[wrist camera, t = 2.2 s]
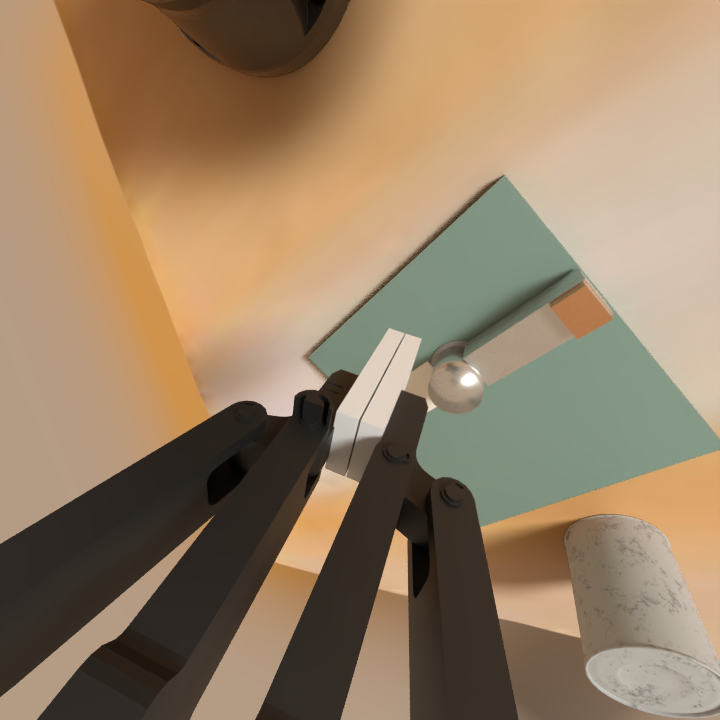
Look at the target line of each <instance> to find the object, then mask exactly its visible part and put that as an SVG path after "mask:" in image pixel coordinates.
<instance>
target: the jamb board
mask: <svg viewBox="0 0 720 720" xmlns="http://www.w3.org/2000/svg"><path fill="white" fill-rule="evenodd" d="M577 268H579V269H580V271H581V272H582V273H583V274H584V276H585V277H586V278H587V279H588V280H589V282H590V283H591V284H592V285H593V287H594V288H595V289H596V290H597V292H598V293H599V294H600V295H601V296H602V298H603V299H604V300H605V302H606V303H607V304H608V306H609V307H610V309H611V310H612V311H613V313H614V315H612V318H613V320H611V321H609V322H608V323H606V324H604V325H602V326H601V327H599V328H597V329H595V330H593V331H592V332H590V333H588V334H586V335H585V336H583V337H581V338H579V339H578V340H577V338H576V337H573V338H572V339H570V340H568V341H566V342H565V343H563V344H561V345H559V346H558V347H556V348H554V349H552V350H551V351H549V352H547V353H545V354H544V355H542V356H540V357H538V358H537V359H535V360H533V361H531V362H530V363H528V364H526V365H524V366H523V367H521V368H519V369H517V370H516V371H514V372H512V373H510V374H509V375H507V376H505V377H503V378H502V379H500V380H498V381H496V382H495V383H493V384H491V385H490V386H488V385H487V384H486V383H485V382H484V388H483V398H482V401H481V403H480V404H479V405H478V407H477V408H475V409H474V410H472V411H470V412H468V413H464V414H452V413H448V412H445V411H443V410H441V409H439V408H438V407H437V406H436V405H434V403H433V402H432V401H431V399H430V397H429V394H428V385H429V381H430V378H431V375H432V372H433V368H434V365H435V362H436V359H437V357H438V356H439V354H440V353H441V352H443V351H444V350H446V349H448V348H451V347H458V346H459V347H465V344H466V343H467V342H469V341H470V340H472V339H473V338H475V337H476V336H478V335H479V334H481V333H482V332H483V331H485V330H486V329H488V328H489V327H491V326H492V325H494V324H495V323H497V322H498V321H500V320H501V319H503V318H504V317H506V316H507V315H509V314H510V313H512V312H513V311H514V310H516V309H517V308H519V307H520V306H522V305H523V304H525V303H526V302H528V301H529V300H531V299H532V298H534V297H535V296H537V295H538V294H540V293H541V292H543V291H544V290H546V289H547V288H548V287H550V286H551V285H553V284H554V283H556V282H557V281H559V280H560V279H562V278H563V277H565V276H566V275H568V274H569V273H571V272H572V271H574V270H575V269H577ZM389 328H390V329H393V330H396V331H399V332H402V333H405V334H404V336H405V335H406V334H408V335H412V336H415V337H418V338H421V339H422V340H421V343H420V346H419V349H418V352H417V355H416V358H415V361H414V364H413V367H412V370H411V373H410V377H409V380H408V383H407V386H406V388H405V391H406V392H409V393H412V394H415V395H417V396H420V397H423V398H426V402H427V405H428V411H427V415H426V418H425V422H424V425H423V429H422V432H421V436H420V439H419V443H418V447H417V450H416V457H417V461H418V463H419V465H420V466H421V467H422V469H423V470H424V471H426V472H427V473H428V474H429V475H431V476H432V477H433V478H435V479H438V478H441V477H450V478H453V479H456V480H459V481H460V482H461V483H463V484H464V485H466V486H467V488H468V489H469V490H470V491H471V492H472V495H473V497H474V500H475V504H476V509H477V514H478V519H479V524H480V527H482V526H485V525H488V524H491V523H495V522H498V521H501V520H504V519H507V518H510V517H513V516H516V515H519V514H522V513H525V512H529V511H532V510H535V509H538V508H541V507H544V506H547V505H550V504H553V503H556V502H560V501H563V500H566V499H569V498H572V497H575V496H578V495H581V494H584V493H587V492H591V491H594V490H597V489H600V488H603V487H606V486H609V485H612V484H615V483H618V482H621V481H625V480H628V479H631V478H634V477H637V476H640V475H643V474H646V473H649V472H652V471H656V470H659V469H662V468H665V467H668V466H671V465H674V464H677V463H680V462H683V461H687V460H690V459H693V458H696V457H699V456H702V455H705V454H708V453H711V452H714V451H717V450H720V439H719V438H718V437H717V435H716V434H715V433H714V432H713V430H712V429H711V428H710V427H709V426H708V424H707V423H706V422H705V421H704V419H703V418H702V417H701V416H700V414H699V413H698V412H697V411H696V410H695V408H694V407H693V406H692V405H691V403H690V402H689V401H688V400H687V399H686V397H685V396H684V395H683V394H682V392H681V391H680V390H679V389H678V387H677V386H676V385H675V384H674V383H673V381H672V380H671V379H670V378H669V376H668V375H667V374H666V373H665V371H664V370H663V369H662V368H661V367H660V365H659V364H658V363H657V362H656V360H655V359H654V358H653V357H652V355H651V354H650V353H649V352H648V351H647V349H646V348H645V347H644V346H643V344H642V343H641V342H640V341H639V340H638V338H637V337H636V336H635V335H634V333H633V332H632V331H631V330H630V328H629V327H628V326H627V325H626V324H625V322H624V321H623V320H622V319H621V317H620V316H619V315H618V314H617V312H616V311H615V310H614V309H613V308H612V306H611V305H610V304H609V303H608V301H607V300H606V299H605V298H604V296H603V295H602V294H601V293H600V292H599V290H598V289H597V288H596V287H595V285H594V284H593V283H592V282H591V281H590V279H589V278H588V277H587V276H586V274H585V273H584V272H583V271H582V269H581V268H580V267H579V266H578V265H577V263H576V262H575V261H574V260H573V258H572V257H571V256H570V255H569V253H568V252H567V251H566V250H565V249H564V247H563V246H562V245H561V244H560V242H559V241H558V240H557V239H556V237H555V236H554V235H553V234H552V233H551V231H550V230H549V229H548V228H547V226H546V225H545V224H544V223H543V222H542V220H541V219H540V218H539V217H538V215H537V214H536V213H535V212H534V210H533V209H532V208H531V207H530V206H529V204H528V203H527V202H526V201H525V199H524V198H523V197H522V196H521V194H520V193H519V192H518V191H517V190H516V188H515V187H514V186H513V185H512V183H511V182H510V181H509V180H508V178H507V177H506V176H505V175H503V176H502V177H501V178H500V179H499V180H498V181H497V182H496V183H495V184H494V185H493V186H492V187H491V188H489V189H488V190H487V191H486V192H485V193H484V194H483V195H482V196H481V197H480V198H479V199H478V200H477V201H475V202H474V203H473V204H472V205H471V206H470V207H469V208H468V209H467V210H466V211H465V212H464V213H463V214H461V215H460V216H459V217H458V218H457V219H456V220H455V221H454V222H453V223H452V224H451V225H450V226H448V227H447V228H446V229H445V230H444V231H443V232H442V233H441V234H440V235H439V236H438V237H437V238H436V239H434V240H433V241H432V242H431V243H430V244H429V245H428V246H427V247H426V248H425V249H424V250H423V251H422V252H420V253H419V254H418V255H417V256H416V257H415V258H414V259H413V260H412V261H411V262H410V263H409V264H408V265H406V266H405V267H404V268H403V269H402V270H401V271H400V272H399V273H398V274H397V275H396V276H395V277H393V278H392V279H391V280H390V281H389V282H388V283H387V284H386V285H385V286H384V287H383V288H382V289H381V290H379V291H378V292H377V293H376V294H375V295H374V296H373V297H372V298H371V299H370V300H369V301H368V302H367V303H365V304H364V305H363V306H362V307H361V308H360V309H359V310H358V311H357V312H356V313H355V314H354V315H353V316H351V317H350V318H349V319H348V320H347V321H346V322H345V323H344V324H343V325H342V326H341V327H340V328H338V329H337V330H336V331H335V332H334V333H333V334H332V335H331V336H330V337H329V338H328V339H327V340H326V341H324V342H323V343H322V344H321V345H320V346H319V347H318V348H317V349H316V350H315V351H314V352H313V353H312V354H311V355H310V356H309V357H308V358H309V359H310V360H311V361H312V362H313V363H314V364H315V365H316V366H317V367H318V368H319V369H320V370H321V371H322V372H323V373H324V374H325V375H326V376H327V377H328V378H329V377H330V375H331V374H332V373H334V372H336V371H338V370H340V369H342V370H345V371H348V372H351V373H353V374H356V375H360V373H361V372H362V370H363V369H364V367H365V365H366V364H367V362H368V361H369V359H370V358H371V356H372V354H373V353H374V351H375V350H376V348H377V346H378V345H379V343H380V342H381V340H382V339H383V337H384V335H385V334H386V332H387V331H388V329H389ZM403 338H404V337H403Z"/></svg>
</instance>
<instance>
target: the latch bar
mask: <svg viewBox="0 0 720 720" xmlns="http://www.w3.org/2000/svg"><path fill="white" fill-rule="evenodd" d="M612 315H614V313H613V311H612V310H611V309H610V307H609V306H608V304H607V303H606V302H605V300H604V299H603V298H602V296H601V295H600V294H599V293H598V292H597V290H596V289H595V288H594V287H593V285H592V284H591V283H590V282H589V280H588V279H587V278H586V277H585V276H584V274H583V273H582V272H581V271H580V269H579V268H577V269H575V270H574V271H572V272H571V273H569V274H568V275H566V276H565V277H563V278H562V279H560V280H559V281H557V282H556V283H554V284H553V285H551V286H550V287H548V288H547V289H546V290H544V291H543V292H541V293H540V294H538V295H537V296H535V297H534V298H532V299H531V300H529V301H528V302H526V303H525V304H523V305H522V306H520V307H519V308H517V309H516V310H514V311H513V312H512V313H510V314H509V315H507V316H506V317H504V318H503V319H501V320H500V321H498V322H497V323H495V324H494V325H492V326H491V327H489V328H488V329H486V330H485V331H483V332H482V333H481V334H479V335H478V336H476V337H475V338H473V339H472V340H470V341H469V342H467V343H466V344H465V347H459V346H458V347H451V348H448V349H446V350H444V351H443V352H441V353H440V354H439V356H438V357H437V359H436V362H435V365H434V368H433V372H432V375H431V378H430V381H429V385H428V394H429V397H430V399H431V401H432V402H433V403H434V405H436V406H437V407H438V408H439V409H441V410H443V411H445V412H448V413H452V414H464V413H468V412H470V411H472V410H474V409H475V408H477V407H478V405H479V404H480V403H481V401H482V398H483V388H484V382H485V383H486V384H487V385H488V386H490V385H491V384H493V383H495V382H496V381H498V380H500V379H502V378H503V377H505V376H507V375H509V374H510V373H512V372H514V371H516V370H517V369H519V368H521V367H523V366H524V365H526V364H528V363H530V362H531V361H533V360H535V359H537V358H538V357H540V356H542V355H544V354H545V353H547V352H549V351H551V350H552V349H554V348H556V347H558V346H559V345H561V344H563V343H565V342H566V341H568V340H570V339H572V338H573V337H576V338H577V340H578V339H579V338H581V337H583V336H585V335H586V334H588V333H590V332H592V331H593V330H595V329H597V328H599V327H601V326H602V325H604V324H606V323H608V322H609V321H611V320H613V318H612Z"/></svg>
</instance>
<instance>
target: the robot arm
mask: <svg viewBox="0 0 720 720" xmlns="http://www.w3.org/2000/svg"><path fill="white" fill-rule="evenodd" d="M143 1H145V2H148V3H150V4H152V5H155V6H156V7H157V8H158V9H159V10H160V11H162V12H163V13H164V14H165V15H166V16H168V17H169V18H170V19H171V20H172V21H173V22H174V23H175V24H176V25H177V26H178V27H179V28H180V30H181V31H182V32H183V33H184V34H185V36H186V37H187V38H188V39H189V40H190V41H191V42H192V43H193V44H194V45H195V46H196V47H197V48H198V49H199V50H201V51H202V52H203V53H204V54H206V55H207V56H208V57H210V58H211V59H213V60H214V61H216V62H218V63H219V64H221V65H223V66H225V67H228V68H230V69H233V70H236V71H239V72H243V73H246V74H249V75H253V76H258V77H274V76H280V75H284V74H287V73H290V72H292V71H294V70H296V69H298V68H300V67H301V66H303V65H304V64H306V63H307V62H309V61H310V60H311V59H312V58H313V57H314V56H316V55H317V53H318V52H319V51H320V50H321V49H322V48H323V47H324V46H325V45H326V43H327V42H328V41H329V39H330V38H331V36H332V35H333V33H334V32H335V30H336V29H337V27H338V25H339V23H340V21H341V19H342V17H343V15H344V13H345V11H346V8H347V6H348V3H349V1H350V0H143ZM404 334H405V333H402V332H399V331H396V330H393V329H390V328H389V329H388V331H387V332H386V334H385V335H384V337H383V339H382V340H381V342H380V343H379V345H378V346H377V348H376V350H375V351H374V353H373V354H372V356H371V358H370V359H369V361H368V362H367V364H366V365H365V367H364V369H363V370H362V372H361V373H360V375H356V374H353V373H351V372H348V371H345V370H342V369H340V370H338V371H336V372H334V373H332V374H331V375H330V377H329V378H328V379H327V381H326V382H325V383H324V385H323V386H322V388H321V389H320V390H319V391H317V390H305V391H302V392H299V393H298V394H297V395H295V399H294V407H293V415H292V416H289V417H279V416H271V415H267V412H266V409H265V408H264V407H263V406H262V405H261V404H259V403H257V402H253V401H241V402H237V403H235V404H232V405H230V406H229V407H227V408H225V409H224V410H222V411H221V412H219V413H217V414H216V415H214V416H212V417H211V418H209V419H207V420H206V421H204V422H202V423H201V424H199V425H197V426H196V427H194V428H192V429H191V430H189V431H187V432H186V433H184V434H182V435H181V436H179V437H177V438H176V439H174V440H172V441H171V442H169V443H167V444H166V445H164V446H163V447H161V448H159V449H157V450H156V451H154V452H152V453H151V454H149V455H147V456H146V457H144V458H142V459H141V460H139V461H137V462H136V463H134V464H132V465H131V466H129V467H128V468H126V469H124V470H122V471H121V472H119V473H117V474H116V475H114V476H112V477H111V478H109V479H108V480H106V481H104V482H103V483H101V484H99V485H98V486H96V487H94V488H93V489H91V490H89V491H88V492H86V493H84V494H83V495H81V496H79V497H78V498H76V499H74V500H73V501H71V502H69V503H68V504H66V505H64V506H63V507H61V508H59V509H58V510H56V511H54V512H53V513H51V514H49V515H48V516H46V517H45V518H43V519H41V520H39V521H38V522H36V523H35V524H33V525H31V526H30V527H28V528H26V529H25V530H23V531H21V532H20V533H18V534H16V535H15V536H13V537H11V538H9V539H8V540H6V541H4V542H3V543H1V544H0V697H1V696H2V695H3V694H5V693H6V692H7V691H8V690H9V689H11V688H12V687H13V686H15V685H16V684H17V683H18V682H19V681H20V680H22V679H23V678H24V677H25V676H26V675H27V674H28V673H30V672H31V671H32V670H33V669H34V668H36V667H37V666H38V665H39V664H40V663H42V662H43V661H44V660H45V659H46V658H47V657H48V656H50V655H51V654H52V653H53V652H54V651H56V650H57V649H58V648H59V647H60V646H61V645H63V644H64V643H65V642H66V641H67V640H68V639H69V638H71V637H72V636H73V635H74V634H76V633H77V632H78V631H79V630H80V629H81V628H82V627H84V626H85V625H86V624H87V623H88V622H90V621H91V620H92V619H93V618H94V617H95V616H97V615H98V614H99V613H100V612H101V611H102V610H104V609H105V608H106V607H107V606H108V605H109V604H111V603H112V602H113V601H114V600H115V599H117V597H119V596H120V595H121V594H122V593H124V592H125V591H126V590H127V589H128V588H129V587H131V586H132V585H133V584H134V583H135V582H136V581H138V580H139V579H140V578H141V577H142V576H143V575H145V573H147V572H148V571H149V570H150V569H152V568H153V567H154V566H155V565H156V564H157V563H159V562H160V561H161V560H162V559H163V558H164V557H166V556H167V555H168V554H169V553H170V552H171V551H173V550H174V549H175V548H176V547H177V546H179V545H180V544H181V543H182V542H183V541H184V540H186V539H187V538H188V537H189V536H190V535H191V534H193V533H194V532H195V531H196V530H197V529H198V528H199V527H201V526H202V525H203V524H204V523H205V522H207V521H208V520H209V519H210V518H211V517H212V516H214V517H213V518H212V519H211V521H210V522H209V523H208V524H207V526H206V527H205V528H204V529H203V531H202V532H201V533H200V535H199V536H198V537H197V539H196V540H195V541H194V542H193V544H192V545H191V546H190V547H189V549H188V550H187V551H186V553H185V554H184V556H182V558H181V559H180V560H179V562H178V563H177V564H176V566H175V567H174V568H173V569H172V571H171V572H170V573H169V575H168V576H167V577H166V578H165V580H164V581H163V582H162V584H161V585H160V586H159V587H158V589H157V590H156V591H155V593H154V594H153V595H152V596H151V598H150V599H149V600H148V601H147V603H146V604H145V605H144V607H143V608H142V609H141V610H140V612H139V613H138V615H137V616H136V617H135V618H134V620H133V621H132V622H131V623H130V625H129V626H128V627H127V628H126V629H125V631H124V632H123V633H122V634H121V635H120V636H119V637H118V638H116V639H115V640H113V641H111V642H108V643H106V644H104V645H102V646H101V647H100V648H98V649H97V650H96V651H95V652H94V653H92V654H91V655H90V656H89V657H88V658H87V660H86V661H85V662H84V663H83V664H82V665H81V666H80V667H79V669H78V670H77V671H76V672H75V673H74V675H73V676H72V677H71V678H70V679H69V681H68V682H67V683H66V685H65V686H64V687H63V688H62V689H61V691H60V692H59V693H58V694H57V696H56V697H55V698H54V699H53V701H52V702H51V703H50V704H49V706H48V707H47V708H46V709H45V711H44V712H43V713H42V714H41V715H40V717H39V718H38V719H37V720H190V718H191V716H192V713H193V711H194V709H195V707H196V706H197V704H198V702H199V700H200V698H201V696H202V694H203V693H204V691H205V689H206V687H207V685H208V683H209V682H210V680H211V678H212V676H213V674H214V672H215V671H216V669H217V667H218V665H219V663H220V661H221V659H222V658H223V656H224V654H225V652H226V650H227V648H228V647H229V645H230V643H231V641H232V639H233V637H234V636H235V633H236V632H237V630H238V628H239V626H240V624H241V623H242V621H243V619H244V617H245V615H246V613H247V612H248V610H249V608H250V606H251V604H252V602H253V601H254V599H255V597H256V595H257V593H258V591H259V589H260V588H261V586H262V584H263V582H264V580H265V578H266V577H267V575H268V573H269V571H270V569H271V567H272V565H273V564H274V562H275V560H276V558H277V556H278V555H279V553H280V551H281V549H282V547H283V545H284V543H285V542H286V540H287V538H288V536H289V534H290V532H291V531H292V529H293V527H294V525H295V523H296V521H297V520H298V518H299V516H300V514H301V512H302V510H303V508H304V507H305V505H306V503H307V501H308V499H309V497H310V496H311V494H312V492H313V490H314V488H315V486H316V485H317V483H318V481H319V478H320V474H321V469H322V467H323V466H324V464H325V462H326V466H325V468H326V469H328V470H331V471H333V472H336V473H338V474H341V475H343V476H345V475H346V473H347V470H348V473H347V477H348V478H350V479H353V480H355V481H358V482H359V485H358V487H357V489H356V492H355V494H354V496H353V499H352V501H351V503H350V505H349V508H348V510H347V512H346V515H345V517H344V519H343V521H342V524H341V526H340V528H339V531H338V533H337V535H336V537H335V540H334V542H333V544H332V547H331V549H330V551H329V553H328V556H327V558H326V560H325V563H324V565H323V567H322V570H321V572H320V574H319V576H318V579H317V581H316V583H315V586H314V588H313V590H312V592H311V595H310V597H309V599H308V602H307V604H306V606H305V609H304V611H303V613H302V615H301V618H300V620H299V622H298V625H297V627H296V629H295V631H294V634H293V636H292V639H291V641H290V643H289V645H288V648H287V650H286V652H285V654H284V657H283V659H282V661H281V663H280V666H279V668H278V670H277V673H276V675H275V677H274V679H273V682H272V684H271V686H270V689H269V691H268V693H267V696H266V698H265V700H264V702H263V705H262V707H261V709H260V711H259V713H258V715H257V717H256V719H255V720H340V719H341V716H342V712H343V708H344V705H345V701H346V698H347V695H348V691H349V688H350V684H351V681H352V677H353V674H354V670H355V667H356V664H357V660H358V656H359V653H360V650H361V646H362V643H363V639H364V635H365V632H366V629H367V625H368V621H369V618H370V615H371V611H372V608H373V604H374V601H375V597H376V594H377V591H378V587H379V584H380V580H381V577H382V573H383V570H384V566H385V563H386V559H387V556H388V552H389V549H390V545H391V542H392V538H393V535H394V531H395V528H396V529H397V530H398V531H399V532H401V533H402V534H403V535H404V536H405V537H407V538H408V599H409V600H408V602H409V662H410V663H409V665H410V720H518V715H517V710H516V705H515V700H514V695H513V690H512V685H511V680H510V675H509V670H508V665H507V660H506V655H505V650H504V645H503V640H502V635H501V630H500V625H499V620H498V615H497V610H496V605H495V600H494V595H493V590H492V585H491V580H490V575H489V569H488V564H487V559H486V554H485V549H484V544H483V539H482V534H481V529H480V524H479V519H478V514H477V509H476V504H475V500H474V497H473V495H472V492H471V491H470V490H469V489H468V488H467V486H466V485H464V484H463V483H461V482H460V481H459V480H456V479H453V478H450V477H441V478H438V479H435V478H433V477H432V476H431V475H429V474H428V473H427V472H426V471H424V470H423V469H422V467H421V466H420V465H419V463H418V461H417V457H416V450H417V447H418V443H419V439H420V436H421V432H422V429H423V425H424V422H425V418H426V415H427V411H428V405H427V402H426V398H423V397H420V396H417V395H415V394H412V393H409V392H406V391H405V388H406V386H407V383H408V380H409V377H410V373H411V370H412V367H413V364H414V361H415V358H416V355H417V352H418V349H419V346H420V343H421V340H422V339H421V338H418V337H415V336H412V335H408V334H406V335H405V336H404ZM403 337H404V338H403ZM326 460H327V461H326ZM348 468H349V469H348Z"/></svg>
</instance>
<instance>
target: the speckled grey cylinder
mask: <svg viewBox="0 0 720 720" xmlns="http://www.w3.org/2000/svg"><path fill="white" fill-rule="evenodd" d="M564 544H565V548H566V551H567V557H568V563H569V569H570V575H571V581H572V587H573V593H574V599H575V605H576V611H577V617H578V623H579V629H580V635H581V641H582V647H583V653H584V659H585V666H584V667H585V671H586V675H587V677H588V678H589V680H590V681H591V683H592V684H593V685H594V686H595V687H597V688H598V689H599V690H600V691H601V692H603V693H604V694H606V695H607V696H609V697H610V698H612V699H614V700H617V701H618V702H620V703H622V704H625V705H627V706H630V707H632V708H635V709H638V710H641V711H645V712H648V713H651V714H657V715H661V716H666V717H676V718H706V717H712V716H716V715H719V714H720V662H719V659H718V657H717V655H716V652H715V650H714V648H713V645H712V643H711V641H710V638H709V636H708V634H707V631H706V629H705V627H704V624H703V622H702V620H701V617H700V615H699V613H698V611H697V608H696V606H695V604H694V601H693V599H692V597H691V594H690V592H689V590H688V587H687V585H686V583H685V580H684V578H683V576H682V573H681V571H680V569H679V566H678V564H677V562H676V559H675V557H674V555H673V552H672V550H671V545H670V543H669V541H668V539H667V537H666V536H665V535H664V534H663V533H662V532H661V531H660V530H659V529H657V528H656V527H654V526H653V525H652V524H650V523H647V522H645V521H643V520H641V519H637V518H634V517H630V516H625V515H618V514H601V515H593V516H589V517H586V518H583V519H581V520H579V521H577V522H575V523H573V524H572V525H571V526H570V527H569V528H568V530H567V531H566V533H565V536H564Z"/></svg>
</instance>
